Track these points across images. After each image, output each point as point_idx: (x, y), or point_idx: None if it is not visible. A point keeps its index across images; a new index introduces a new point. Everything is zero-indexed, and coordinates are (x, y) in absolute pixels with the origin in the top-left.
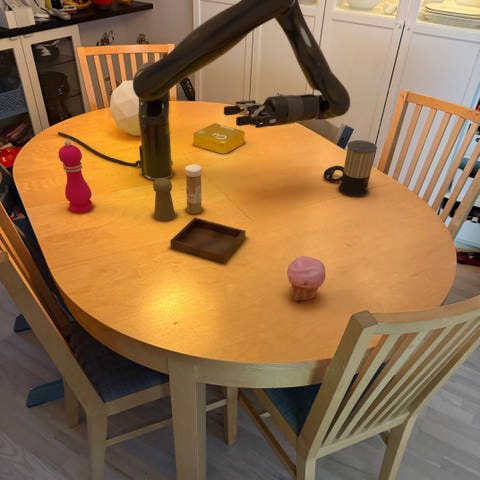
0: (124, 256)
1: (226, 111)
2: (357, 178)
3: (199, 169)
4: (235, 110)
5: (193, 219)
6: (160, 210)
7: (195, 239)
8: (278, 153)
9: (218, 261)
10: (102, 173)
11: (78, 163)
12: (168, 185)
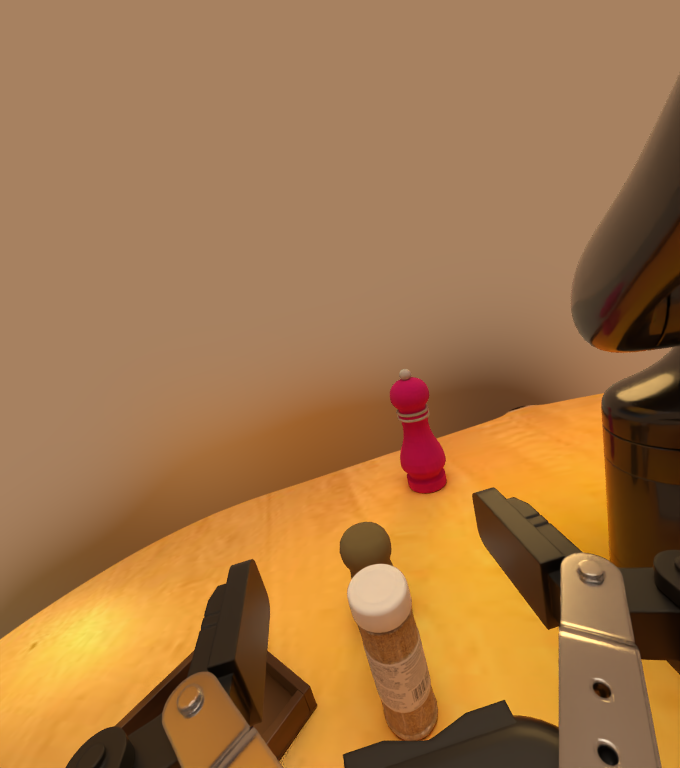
0: (253, 558)
1: (481, 523)
2: None
3: (357, 607)
4: (532, 583)
5: (298, 680)
6: None
7: None
8: None
9: None
10: (595, 477)
11: (405, 411)
12: (345, 553)
